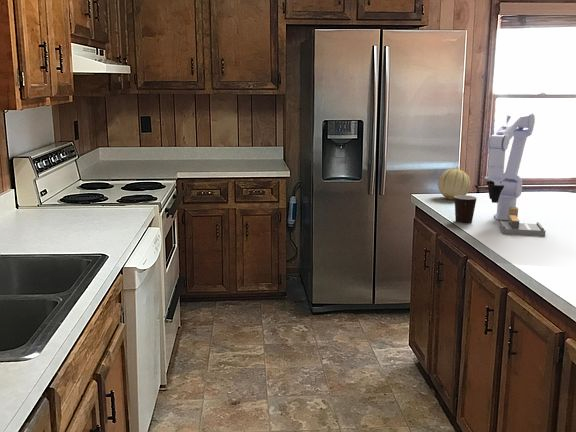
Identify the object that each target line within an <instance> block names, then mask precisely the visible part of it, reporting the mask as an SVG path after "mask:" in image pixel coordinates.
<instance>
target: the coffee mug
mask: <svg viewBox="0 0 576 432" xmlns="http://www.w3.org/2000/svg"><path fill="white" fill-rule="evenodd" d="M453 200H454V213H455V214H454V215H455V223H459V224H472V223H473V219H474V214H475V213H474V212H475V210H476V209H475V208H476V203H477V197H476V196H473V195H467V194H466V195H458V196H454V199H453Z"/></svg>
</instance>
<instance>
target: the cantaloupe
mask: <svg viewBox="0 0 576 432" xmlns="http://www.w3.org/2000/svg"><path fill="white" fill-rule="evenodd" d="M437 182H438V183H437V188H438V191H439V193H440V194H441V195H442V196H443V198H446V199H448V200H454V196H458V195H467V194H468V193H469V191H470V189H471V179H470V176H469V175H468V173H466V172H465V171H464V170H462V169H460V168H459V167H458V166H456V168H449V169H446V170H445V171H443V172H442V173H441V175H440V176H439V178H438V180H437Z"/></svg>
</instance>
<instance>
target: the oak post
mask: <svg viewBox="0 0 576 432" xmlns="http://www.w3.org/2000/svg"><path fill="white" fill-rule="evenodd" d="M509 215H516V216H517V218H519V217H518V215H519V208H518V207H517V206H516V207H509V214H508V220H507V223H509Z"/></svg>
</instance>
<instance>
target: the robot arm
mask: <svg viewBox="0 0 576 432" xmlns="http://www.w3.org/2000/svg"><path fill="white" fill-rule="evenodd" d="M535 119H536V118H535V114H534V113H533V112H514V111H510V112H508V114H507V115H506V124H505V125H501V127H500V128H499V129H498V130H497V131H496V133H495V134H491V135H489V137H488V140H487V149H488V151H487V152H488V153H487V154H489V155H488V166H487V167H488V169H487V176H484V177H483V178H484V180H485V182H486V185H487V188H488V189H487V190H488V197H489V199H490V200H491V203H494V204H495V203H496V204H497V207H496V213H494V214H493V216H494V218H495V220H496V221H508V214H509V207H517V199H518V198H520V196H521V195H522V193H523V192H522V191H523V184H524V183H523V179H522V177H520V176H519V175H518V174H519V170H520V165H521V161H522V157H523V152H524V150H525V145H526V142H527V139H528V137H530V136H532V134H533V131H534V127H535V121H536V120H535ZM512 138H513V140H512V144H511V147H510V152H509V156H508V161H507V164H506V169H505V160H506V150H507V149H508V146H509V144H510V141H511V139H512Z"/></svg>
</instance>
